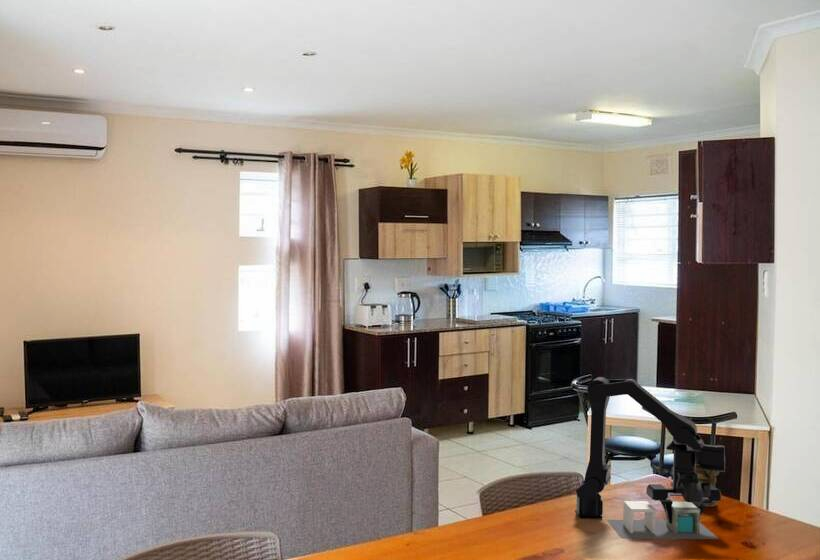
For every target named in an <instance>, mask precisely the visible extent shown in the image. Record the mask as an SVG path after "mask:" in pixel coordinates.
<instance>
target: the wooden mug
mask: <svg viewBox="0 0 820 560" xmlns="http://www.w3.org/2000/svg"><path fill="white" fill-rule="evenodd" d="M695 472H696V473H697V476H698V478H697V479H698V482H699V483H709V484H710V485H713V486H714V487H716V483H717V473H716V471H712V470H704V469H702V467H700V465H698V463H696V469H695ZM684 502H686V501H685V500H684ZM691 503H693V504H694V502H691ZM716 506H718V501H712V503H711V504H708V505H706V506H705V507H704V508H710V507H711V508H712V507H716Z"/></svg>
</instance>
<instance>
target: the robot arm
mask: <svg viewBox="0 0 820 560" xmlns="http://www.w3.org/2000/svg"><path fill="white" fill-rule="evenodd" d="M586 391H587V397H588V399H587V400H588V403H589V407H590V410H591V411H590V415H591V416H590V441H589V444H590V445H589V460H588V464H587V467H586V471H585V475H584V480H583V481H582V482H581V483H580V485H579V486H577V488H576V490H575V493H576V509H575V510H574V512H575V514H576V515H577V517H578V518H579V519H583V520H584V519H585V520H588V519H589V520H591V519H593V520H594V519H595V520H596V519H597V520H602V519H603V514H604V513H603V512H604V510H603V507H604V503H603V500H602V496H601V495H600V493H601V492H602V491H603V490H604V489H605V487H606V486H607V485H608V483H609V482H610V480H611V478H612V476H611V468H612V467H611V466H612V464H607V463H606V459H605V456H606V455H605V451H606V420H607V408H608V405H609V401H610V399H611V397H616V396H617V397H618V396H623V395H624V396H625V395H628V396H629V397H630V398H631V399H633V400H634V401H635V402H636V403H637V404H639V405H640V406H641V407H642V408H644V409H645V410H646V411H647V412H648V413H650V414H651V416H653V417H654V418H656V419H657V420H659V421H660V422H661V424H662V425H664V427H665V428H666V431H667V432H668V433H669V434H670V435H671V437H673V439H672V440H671V442H669V443H668V444H667V446H666V450H669V451H673V462H672V465H673V466H672V467H671V472H672V481H671V483H670V486H671V487H670V488H666V487H665V486H663V484H656V483H655V484H652V483H650V484H648V485H647V487H646V495H647V496H648V497H649V498H650V499H651V500H653V501H659V502H660V503H661V505H662V508H663V511H664V512H665V513H664V514H665V517H666V516H667V519H668V522H669V523H670V524H671V523H672V507H671V506H672V503H673V502H674V501H672V499H671V496H673V497H679V496H680V497H681V496H682V498H683V500H684V502H685V501H686V502H694V505H695V506H696V507H697V508H699V509H700V516H702V512H703V511H704V509H705V508H706V507H705V506H706V505H708V504H711V503H712V501H717V502H721V501H722V496H723V495H722V492H721V490H720V489H719V488H717V487H716V486H715V487H714V486H713V485H710V484H709V483H699V482H698V479H697V478H698V476H697V473H696V472H695V469H696V464H698V465H700V467H702V469H704V470H712V471H715V472H721V473H722V472H723V473H725V472H726V455H725V449H726V448H725V445H720V444H719V445H718V444H717V445H713V444H705V442H704V440H703V439H702V438H701V436H700V434H699V433H698V428H697V427H698V426H697V424H696V423H695V422H694V421H693V420H691V419H688V418H687V417H685V416H684V415H682V414H681V413H680V414H679V413H677V412H676V411H673V410H671V408H669V407H668V406H666V405H665V404H664V403H662V402H661V401H660V400H659V399H658V398H656V397H655V396H654V395H653V394H652V393H650V392H649V391H648V390H646V389H645V388H644V387H643V386H642V385H641V384H639V382H637V380H636V379H633V378H628V379H616V378H615V379H607V378H606V377H603V376H598V377H596V378H595V379H592V380H591V382H589V383H588V385H587V388H586ZM697 456H698V458H697ZM696 460H697V461H696Z"/></svg>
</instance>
